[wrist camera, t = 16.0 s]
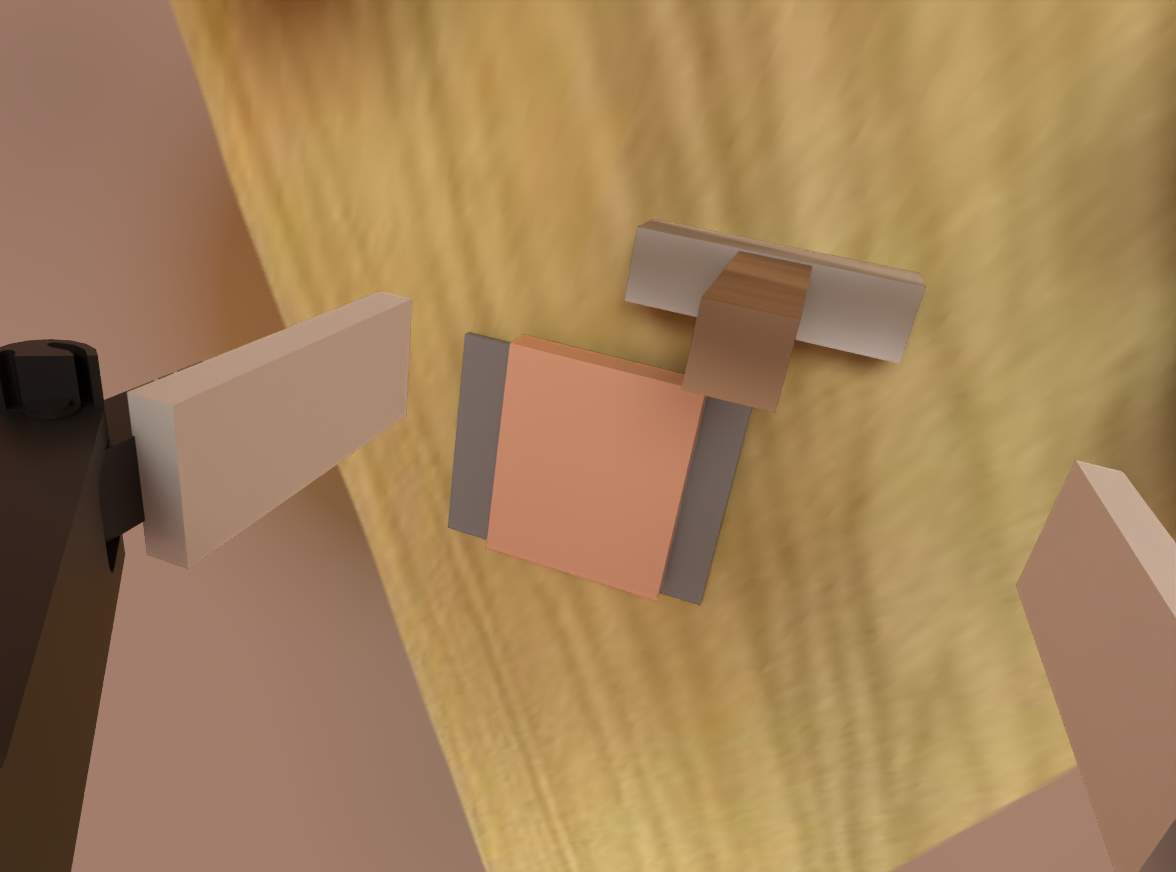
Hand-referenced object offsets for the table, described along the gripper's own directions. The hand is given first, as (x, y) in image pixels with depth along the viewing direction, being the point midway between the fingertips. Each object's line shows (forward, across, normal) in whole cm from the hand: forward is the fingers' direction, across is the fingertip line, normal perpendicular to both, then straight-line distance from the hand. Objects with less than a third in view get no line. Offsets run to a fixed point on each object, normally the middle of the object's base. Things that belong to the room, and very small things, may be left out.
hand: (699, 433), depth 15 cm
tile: (+18, -6, -6) cm, 19 cm away
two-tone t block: (+19, 0, -1) cm, 19 cm away
